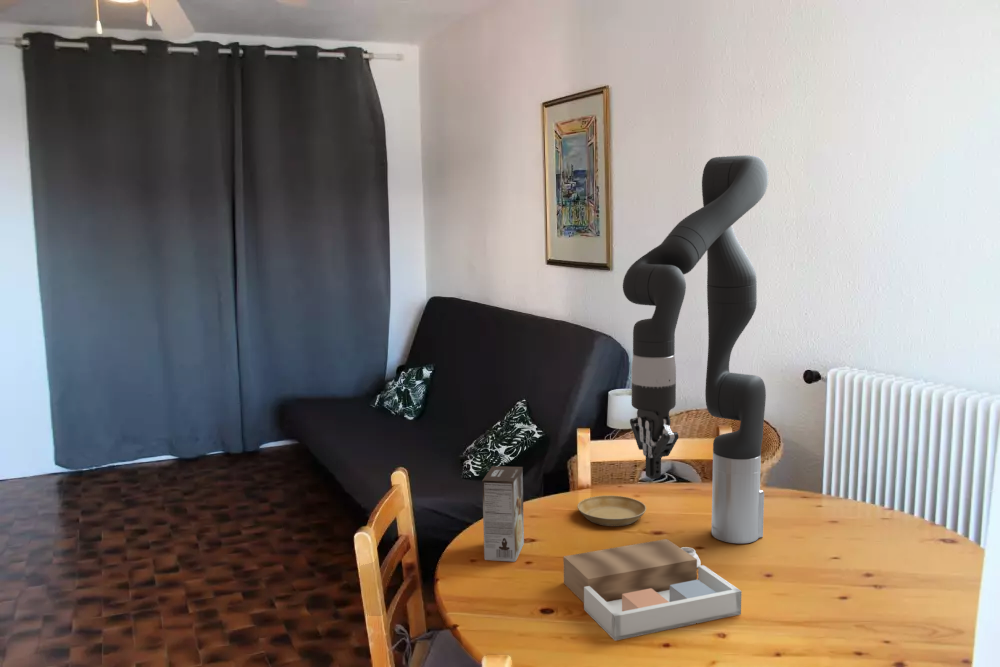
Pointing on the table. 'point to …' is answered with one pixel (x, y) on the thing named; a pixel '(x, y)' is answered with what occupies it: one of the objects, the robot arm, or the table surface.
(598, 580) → the brown wooden slab
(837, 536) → the table surface
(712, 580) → the box
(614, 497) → the plant saucer
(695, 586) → the blue grey flat block
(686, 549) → the white jar
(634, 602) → the tile terracotta
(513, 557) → the coffee box
